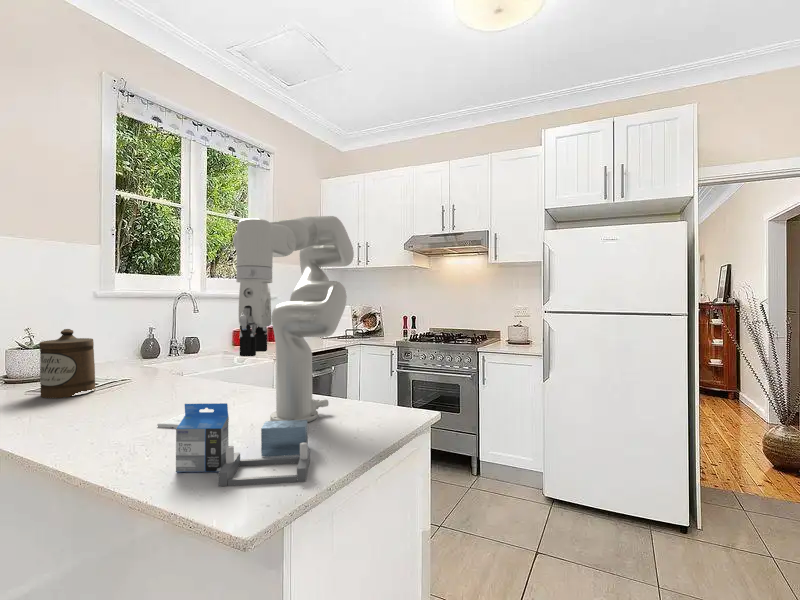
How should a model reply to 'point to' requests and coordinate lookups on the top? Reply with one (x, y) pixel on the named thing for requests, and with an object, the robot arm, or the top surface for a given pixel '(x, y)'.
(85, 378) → the wooden container
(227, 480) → the dock
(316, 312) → the robot arm
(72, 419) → the top surface
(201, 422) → the label tape box
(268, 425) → the light blue block
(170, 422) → the external hard drive
